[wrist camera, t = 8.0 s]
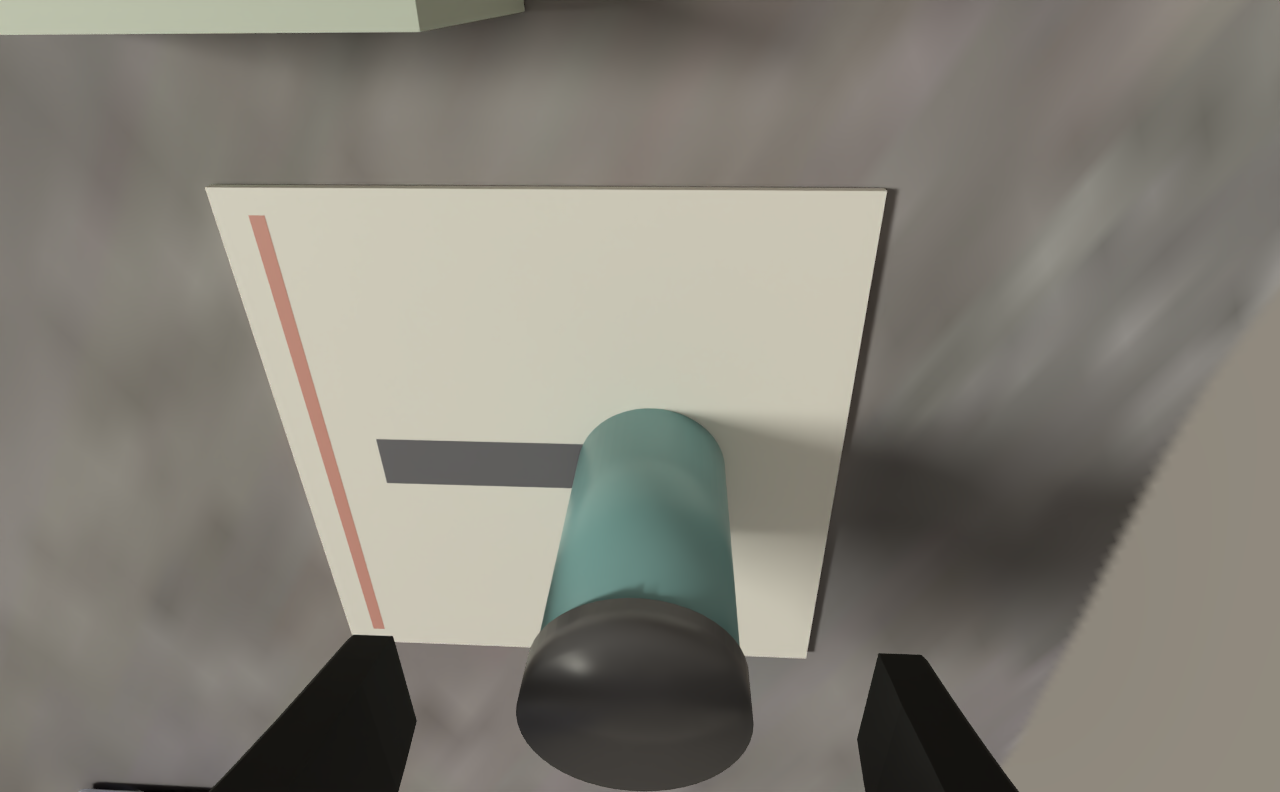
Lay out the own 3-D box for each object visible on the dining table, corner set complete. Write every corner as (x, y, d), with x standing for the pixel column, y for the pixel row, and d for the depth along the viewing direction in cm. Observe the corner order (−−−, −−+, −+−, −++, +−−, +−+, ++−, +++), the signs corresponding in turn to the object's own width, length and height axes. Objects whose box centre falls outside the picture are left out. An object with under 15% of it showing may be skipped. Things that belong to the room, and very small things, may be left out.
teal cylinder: (583, 531, 16) (535, 790, 11) (563, 407, 14) (495, 645, 9) (730, 528, 16) (753, 792, 11) (728, 401, 14) (754, 643, 9)
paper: (356, 634, 19) (353, 640, 19) (211, 184, 13) (204, 187, 12) (805, 651, 18) (805, 658, 18) (884, 188, 12) (886, 191, 12)
